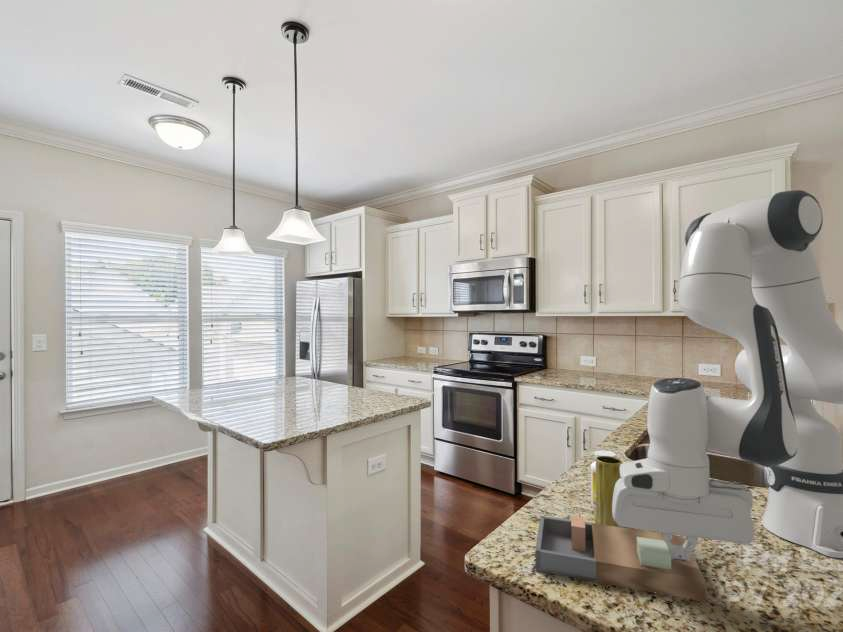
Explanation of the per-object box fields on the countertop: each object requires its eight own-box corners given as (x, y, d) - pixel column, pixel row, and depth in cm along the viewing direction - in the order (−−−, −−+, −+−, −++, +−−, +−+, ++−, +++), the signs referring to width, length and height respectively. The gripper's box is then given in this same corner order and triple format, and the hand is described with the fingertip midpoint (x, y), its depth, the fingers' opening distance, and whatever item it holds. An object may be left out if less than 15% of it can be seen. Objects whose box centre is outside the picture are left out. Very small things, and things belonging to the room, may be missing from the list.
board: (682, 554, 78) (682, 536, 78) (705, 602, 65) (705, 580, 65) (591, 540, 84) (591, 523, 84) (596, 581, 70) (595, 561, 70)
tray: (591, 540, 84) (591, 523, 84) (596, 581, 70) (595, 561, 70) (540, 532, 87) (540, 515, 87) (535, 570, 74) (535, 550, 74)
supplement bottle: (625, 515, 94) (624, 458, 94) (594, 512, 96) (593, 457, 96) (617, 502, 101) (616, 449, 101) (588, 500, 102) (587, 448, 102)
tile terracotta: (584, 517, 83) (571, 515, 84) (585, 528, 79) (571, 525, 80) (584, 539, 83) (571, 537, 84) (585, 551, 79) (571, 549, 80)
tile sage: (665, 555, 72) (665, 540, 72) (671, 569, 68) (671, 554, 68) (636, 550, 74) (636, 536, 74) (640, 564, 69) (640, 549, 69)
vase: (612, 535, 86) (611, 466, 86) (588, 522, 91) (587, 457, 91) (631, 527, 88) (630, 461, 89) (607, 516, 94) (606, 453, 94)
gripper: (744, 476, 69) (745, 559, 69) (610, 463, 76) (611, 539, 75) (761, 491, 63) (762, 582, 63) (614, 475, 70) (615, 558, 70)
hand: (678, 558), depth 69 cm, fingers closed
